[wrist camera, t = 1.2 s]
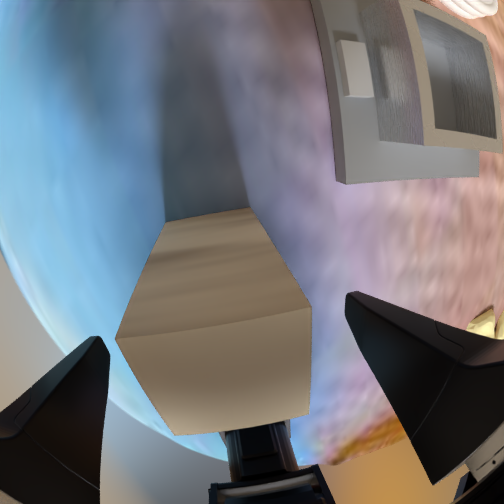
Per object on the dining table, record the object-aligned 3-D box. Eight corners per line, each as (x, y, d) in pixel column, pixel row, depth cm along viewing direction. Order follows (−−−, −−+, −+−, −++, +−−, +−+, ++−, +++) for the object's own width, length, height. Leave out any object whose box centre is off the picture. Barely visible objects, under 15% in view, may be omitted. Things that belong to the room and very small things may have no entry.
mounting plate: (467, 173, 15) (484, 178, 13) (336, 181, 14) (351, 186, 12) (449, 27, 10) (465, 24, 9) (306, -14, 9) (317, -27, 8)
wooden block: (260, 282, 16) (308, 414, 7) (184, 295, 15) (174, 435, 7) (250, 207, 14) (311, 306, 6) (165, 222, 14) (114, 339, 5)
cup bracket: (463, 145, 13) (502, 153, 10) (379, 140, 12) (424, 145, 9) (449, 42, 10) (485, 35, 7) (359, 12, 9) (394, -10, 6)
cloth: (448, 403, 32) (464, 426, 27) (389, 412, 27) (409, 446, 21) (523, 297, 26) (546, 316, 20) (496, 263, 20) (533, 289, 15)
